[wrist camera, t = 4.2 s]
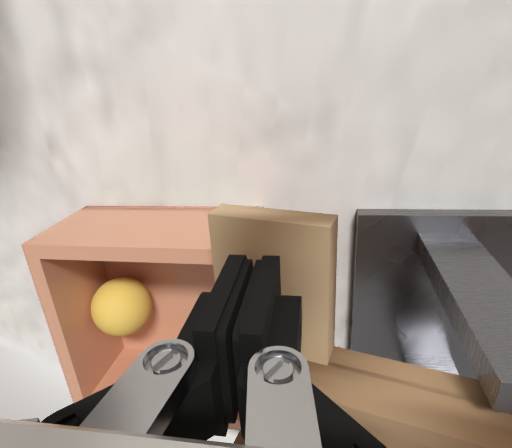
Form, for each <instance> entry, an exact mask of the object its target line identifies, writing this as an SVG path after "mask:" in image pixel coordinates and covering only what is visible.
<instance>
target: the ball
mask: <svg viewBox="0 0 512 448" xmlns="http://www.w3.org/2000/svg"><path fill="white" fill-rule="evenodd" d="M151 309H152V299H151V296H150V293H149V291H148V290H147V288H146V287H145V286H144V285H143V284H142V283H141V282H139V281H137V280H135V279H132V278H128V277H119V278H115V279H112V280H109V281H107V282H106V283H104V284H103V285H102V286H101V287H100V288H99V289H98V290H97V291H96V293H95V294H94V296H93V299H92V302H91V316H92V319H93V321H94V323H95V324H96V326H97V327H98V328H99V329H100V330H101V331H103V332H104V333H106V334H109V335H112V336H126V335H130V334H132V333H134V332H136V331H138V330H139V329H140V328H142V327H143V326H144V324H145V323H146V322H147V320H148V318H149V316H150V314H151Z"/></svg>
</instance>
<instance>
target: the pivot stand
mask: <svg viewBox="0 0 512 448" xmlns="http://www.w3.org/2000/svg"><path fill="white" fill-rule="evenodd" d="M350 350H353V351H357V352H361V353H365V354H370V355H374V356H378V357H383V358H387V359H391V360H396V361H400V362H404V363H409V364H413V365H417V366H422V367H426V368H430V369H435V370H439V371H443V372H448V373H452V374H456V375H460V376H465V377H469V378H473V379H478V380H479V382H480V384H481V386H482V389H483V391H484V393H485V395H486V397H487V399H488V401H489V403H490V405H491V407H492V409H493V411H494V412H503V413H512V210H398V209H357V219H356V239H355V259H354V279H353V299H352V319H351V339H350Z"/></svg>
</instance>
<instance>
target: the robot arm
mask: <svg viewBox="0 0 512 448" xmlns="http://www.w3.org/2000/svg"><path fill="white" fill-rule="evenodd" d="M301 340H302V296H290V295H281V275H280V256H268V255H263V256H262V259H261V260H256V262H255V265H254V268H253V261H252V259H247V256H246V255H230V254H229V256H228V258H227V260H226V262H225V264H224V266H223V268H222V270H221V272H220V274H219V276H218V278H217V280H216V282H215V284H214V286H213V288H212V290H211V292H202V293H201V294H200V295H199V297H198V299H197V301H196V303H195V305H194V307H193V309H192V310H191V312H190V314H189V316H188V318H187V320H186V322H185V324H184V326H183V327H182V329H181V331H180V333H179V335H178V337H177V339H167V340H162V341H159V342H156V343H154V344H152V345H150V346H148V347H147V348H146V349H145V350H144V351H142V352H141V353H140V355H139V356H138V357H137V358H136V359H135V361H134V362H133V363H132V364H131V365H130V366H129V368H128V369H127V370H126V371H125V372H124V374H123V375H122V376H121V377H120V378H119V380H118V381H117V382H116V383H115V384H113V385H110V386H108V387H106V388H104V389H102V390H100V391H98V392H96V393H94V394H92V395H90V396H88V397H86V398H83V399H81V400H79V401H77V402H75V403H73V404H71V405H69V406H67V407H65V408H63V409H61V410H59V411H57V412H55V413H53V414H52V415H50V416H48V417H47V418H45V419H44V420H43V421H42V422H41V423H40V420H39V418H34V419H24V420H9V419H0V448H387V447H386V446H385V445H384V444H382V443H381V442H380V441H379V440H378V439H377V438H375V437H374V436H373V435H372V434H371V433H370V432H368V431H367V430H366V429H365V428H364V427H363V426H361V425H360V424H359V423H358V422H357V421H356V420H354V419H353V418H352V417H351V416H350V415H349V414H347V413H346V412H345V411H344V410H343V409H342V408H340V407H339V406H338V405H337V404H336V403H335V402H333V401H332V400H331V399H330V398H329V397H328V396H326V395H325V394H324V393H323V392H322V391H321V390H319V389H318V388H317V387H316V386H315V385H314V384H312V383H311V378H310V372H309V366H308V363H307V360H306V358H305V357H304V356H303V355H302V354H301ZM238 412H239V420H240V427H241V436H242V437H243V439H244V440H245V445H240V444H231V443H223V442H214V441H207V439H209V438H211V437H212V436H214V435H216V436H226V434H227V430H228V426H229V423H231V424H235V423H236V420H237V416H238Z"/></svg>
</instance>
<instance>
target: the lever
mask: <svg viewBox="0 0 512 448" xmlns="http://www.w3.org/2000/svg"><path fill="white" fill-rule="evenodd" d="M207 216H208V225H209V234H210V242H211V251H212V260H213V269H214V278H215V282H216V280H217V278H218V276H219V274H220V272H221V270H222V268H223V266H224V264H225V262H226V260H227V258H228V256H229V254H230V255H246V256H247V259H252V261H253V268H254V265H255V262H256V260H261V259H262V256H263V255H268V256H280V275H281V295H290V296H302V340H301V354H302V355H303V356H304V357H305V358H306V360H307V363H308V366H309V372H310V378H311V383H312V384H314V385H315V386H316V387H317V388H318V389H319V390H321V391H322V392H323V393H324V394H325V395H326V396H328V397H329V398H330V399H331V400H332V401H333V402H335V403H336V404H337V405H338V406H339V407H340V408H342V409H343V410H344V411H345V412H346V413H347V414H349V415H350V416H351V417H352V418H353V419H354V420H356V421H357V422H358V423H359V424H360V425H361V426H363V427H364V428H365V429H366V430H367V431H368V432H370V433H371V434H372V435H373V436H374V437H375V438H377V439H378V440H379V441H380V442H381V443H382V444H384V445H385V446H386V447H387V448H512V413H503V412H494V411H493V409H492V407H491V405H490V403H489V401H488V399H487V397H486V395H485V393H484V391H483V389H482V386H481V384H480V382H479V380H478V379H473V378H469V377H465V376H460V375H456V374H452V373H448V372H443V371H439V370H435V369H430V368H426V367H422V366H417V365H413V364H409V363H404V362H400V361H396V360H391V359H387V358H383V357H378V356H374V355H370V354H365V353H361V352H357V351H353V350H348V349H344V348H340V347H335V346H334V331H335V297H336V263H337V229H338V215H332V214H322V213H311V212H301V211H290V210H280V209H269V208H259V207H248V206H238V205H227V204H221V205H220V206H218V207H217V208H215V209H214V210H213V211H211V212H210V213H208V214H207ZM233 444H240V445H245V440H244V439H243V437H242V436H241V430H240V432H239V434H238V436H237V437H236V439H235V441H234V443H233Z"/></svg>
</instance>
